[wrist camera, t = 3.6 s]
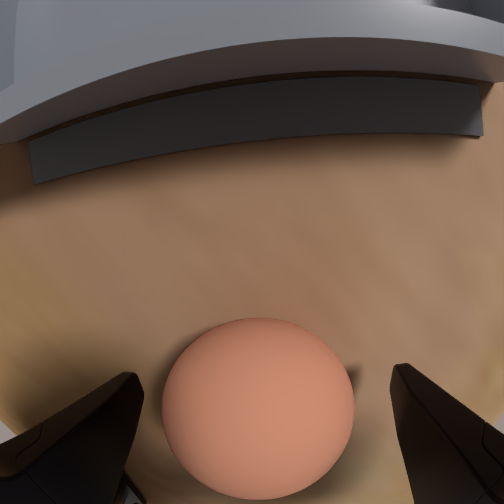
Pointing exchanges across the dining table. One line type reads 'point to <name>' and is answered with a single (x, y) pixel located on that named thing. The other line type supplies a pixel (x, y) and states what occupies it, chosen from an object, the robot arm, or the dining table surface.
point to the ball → (258, 408)
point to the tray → (222, 47)
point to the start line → (259, 119)
